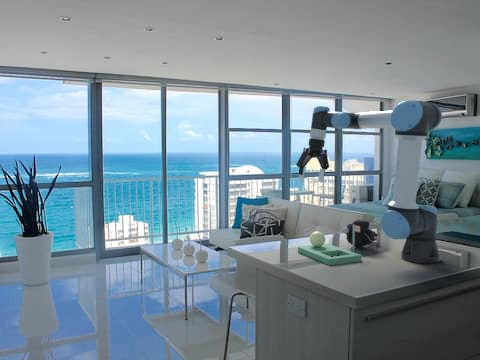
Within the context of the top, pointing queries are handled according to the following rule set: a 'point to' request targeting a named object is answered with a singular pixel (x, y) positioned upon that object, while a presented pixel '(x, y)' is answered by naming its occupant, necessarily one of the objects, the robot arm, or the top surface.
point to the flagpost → (355, 228)
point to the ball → (317, 239)
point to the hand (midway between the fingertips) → (310, 181)
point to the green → (330, 254)
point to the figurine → (360, 234)
